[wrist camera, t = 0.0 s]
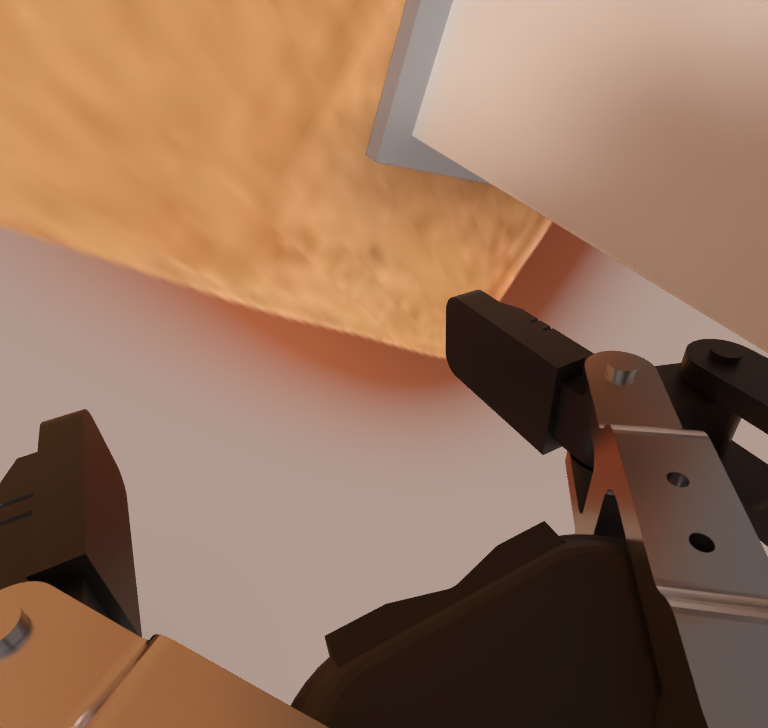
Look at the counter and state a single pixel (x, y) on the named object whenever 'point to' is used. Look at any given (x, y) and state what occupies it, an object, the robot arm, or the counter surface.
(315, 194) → the counter surface
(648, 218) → the pedestal stand
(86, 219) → the counter surface
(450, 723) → the robot arm
